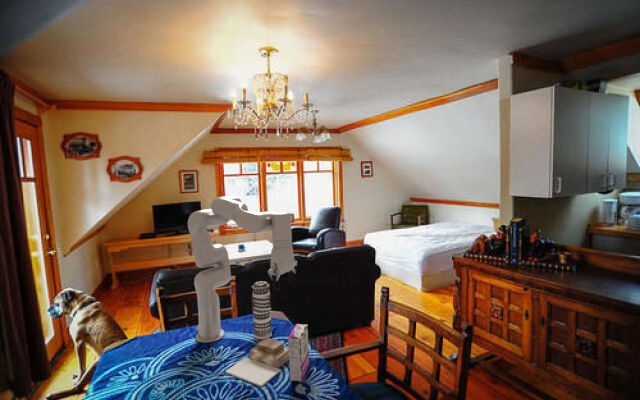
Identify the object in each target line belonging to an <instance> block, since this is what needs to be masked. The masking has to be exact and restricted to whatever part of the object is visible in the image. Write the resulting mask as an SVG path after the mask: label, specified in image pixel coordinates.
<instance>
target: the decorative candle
mask: <svg viewBox="0 0 640 400" xmlns="http://www.w3.org/2000/svg"><path fill="white" fill-rule="evenodd" d="M251 288H252V295H250V298H251V306H252V308H251V309H252V313H253V325H252V326H253V337H254V338H255V339H257V340H264V339H265V338H270V337H272V335H273V334H272V333H273V330H272V329H273V326H272V318H271V317H272V316H271V311H272V308H271V307H272V301H271V300H272V293H270V283H268V282H267V281H264V280H260V281H256V282H254V283H253V285H252V286H251Z"/></svg>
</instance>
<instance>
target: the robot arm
mask: <svg viewBox="0 0 640 400" xmlns="http://www.w3.org/2000/svg"><path fill="white" fill-rule="evenodd" d="M230 221H233V222H235V225H236V226H237V227H238V228H239V229H242V230H244V231H248V232H250V233H262V232H266V231H271V234H272V237H271V238H272V248H271V252H270V268H269V269H268V270H267V273H268V276H269V278H270V279H271V281H272V282H271V283H272V290H273V291H277V292H279V291H281V281H280V276H281V275H284V274H286V273H287V282H288V283H289V284H293V285H294V284H295V283H296V273H297V272H296V271H297V268H298V267H297V266H298V260H296V259H295V253H294V249H293V242H292V241H293V236H292V235H293V234H292V218H291V214H290V213H289V212H285V211H283V212H282V211H279V212H276V211H273V210H271V211H261V212H256V213H255V212H251V211H249V209H248V205H247V204H246V203H244V202H242V200H241V198H240V197H238V196H235V195H230V196H229V195H227V196H218V197H216V198H214V199H213V200H212V201H211V202H210V208H207V209H201V210H196V211H194V212H192V213H191V214H190V215H189V217H188V220H187V227H188V228H187V229H188V231H189V235H190V238H191V242H192V244H191V245H192V250H193V251H192V252H193V257H194V263H195V265H196V267H198V268H202V269H203V268H207V267H212V266H214V267H212V268H207V269H206V270H203V271H200V272H199V273H197V274H196V275H195V277H194V281H193V284H194V287H195V288H194V289H195V292H196V297H197V310H198V311H197V313H198V315H197V316H198V324H197V326H195V330H196V331H197V332H198V333H197V334H196V336H195V338H196V339H195V340H196V341H197V342H199V343H205V344H207V343H213V342H217V341H219V340H220V339H222V338H223V337H224V336H225V331H224V329H222V328H221V327H222V325H221V310H220V309H221V308H220V297H219V295H218V293H217V292H216V290H215V289H217V288H220V287H223V286H225V285H227V284H229V282H230V281H231V277H232V274H231V273H232V272H231V265H230V258H229V253H228V250H227V248H226V247H225V246H224V244H221V243H215V244H213V242H212V236H211V234H210V232H209V231H208V228H215V227H220V226H224V225H226V224H228V222H230Z"/></svg>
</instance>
